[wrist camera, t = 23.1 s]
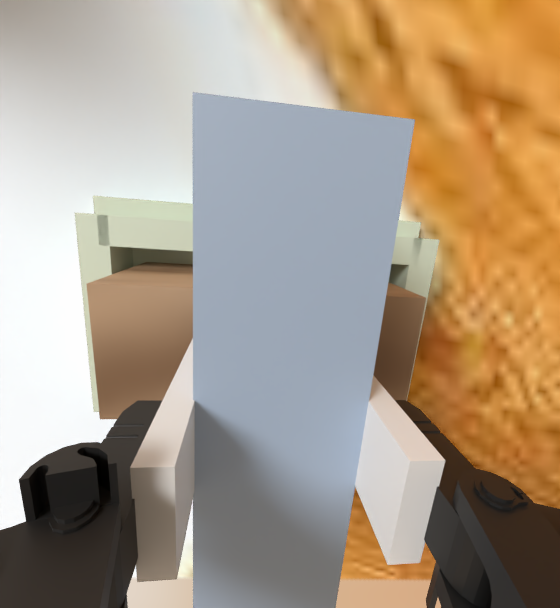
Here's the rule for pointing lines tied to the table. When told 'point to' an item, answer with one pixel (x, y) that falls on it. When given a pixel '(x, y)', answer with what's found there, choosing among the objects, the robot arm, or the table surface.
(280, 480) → the blue-grey rectangular prism
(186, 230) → the jig
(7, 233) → the table surface
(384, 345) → the brown rectangular block
